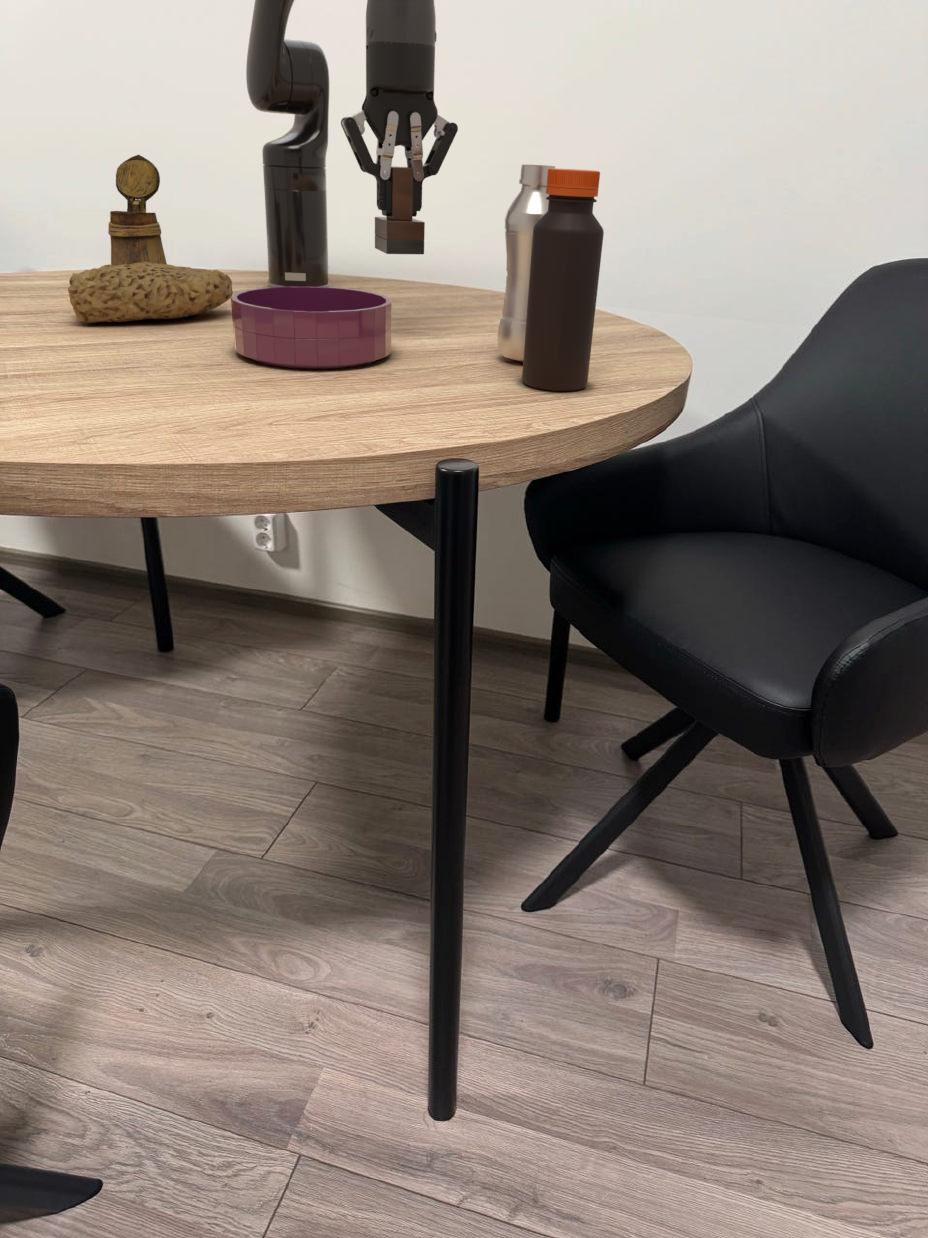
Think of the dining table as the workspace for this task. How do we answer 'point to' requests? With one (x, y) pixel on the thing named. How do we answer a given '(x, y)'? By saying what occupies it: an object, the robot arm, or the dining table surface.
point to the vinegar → (563, 283)
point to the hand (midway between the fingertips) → (398, 214)
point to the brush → (400, 218)
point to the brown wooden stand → (136, 215)
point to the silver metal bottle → (521, 257)
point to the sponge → (146, 292)
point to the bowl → (311, 326)
